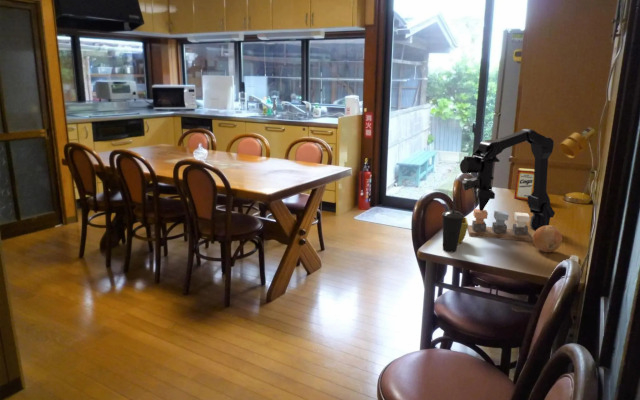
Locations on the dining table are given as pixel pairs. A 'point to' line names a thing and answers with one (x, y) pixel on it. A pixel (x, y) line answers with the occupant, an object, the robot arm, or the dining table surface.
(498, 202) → the dining table surface
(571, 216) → the dining table surface
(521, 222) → the cream button
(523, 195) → the baking soda box
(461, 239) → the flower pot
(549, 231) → the onion
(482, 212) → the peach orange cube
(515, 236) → the walnut button board
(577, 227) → the dining table surface
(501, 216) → the slate button
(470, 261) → the dining table surface
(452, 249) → the drinking cup
